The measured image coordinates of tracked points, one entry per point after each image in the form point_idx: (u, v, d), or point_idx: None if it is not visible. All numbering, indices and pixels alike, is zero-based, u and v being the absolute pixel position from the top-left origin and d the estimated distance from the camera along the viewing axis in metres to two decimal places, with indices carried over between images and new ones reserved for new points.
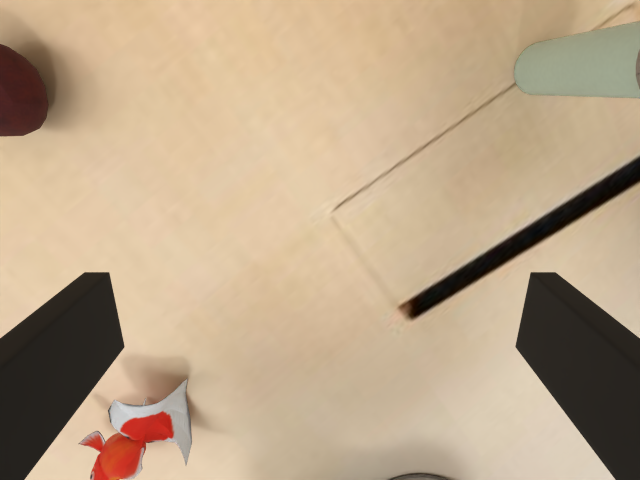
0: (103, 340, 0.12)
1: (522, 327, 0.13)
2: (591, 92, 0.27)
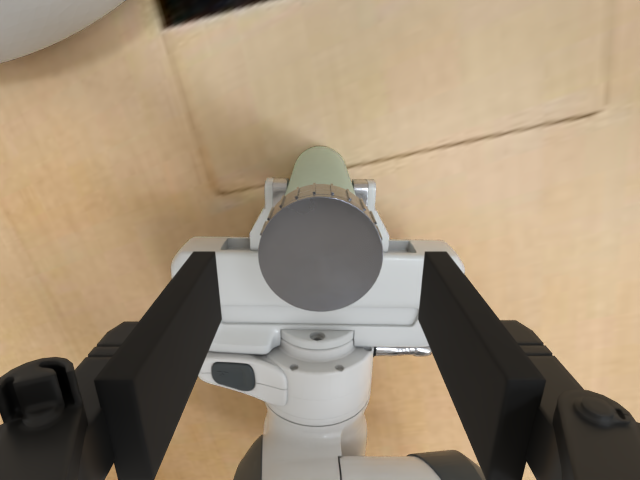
0: (212, 310, 0.13)
1: (420, 300, 0.14)
2: (350, 184, 0.24)
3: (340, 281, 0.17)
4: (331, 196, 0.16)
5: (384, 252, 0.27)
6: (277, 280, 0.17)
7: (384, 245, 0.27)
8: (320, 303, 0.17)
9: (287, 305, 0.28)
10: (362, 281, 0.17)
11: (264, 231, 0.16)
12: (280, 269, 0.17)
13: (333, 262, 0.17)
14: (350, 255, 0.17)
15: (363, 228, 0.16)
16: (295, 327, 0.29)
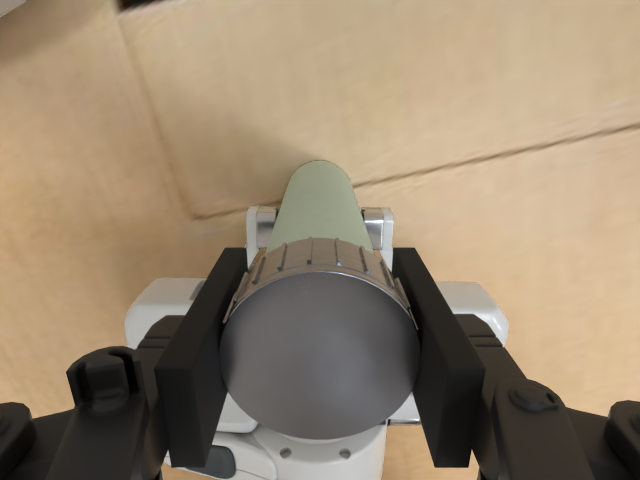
0: None
1: None
2: (361, 221, 0.17)
3: (351, 397, 0.11)
4: (337, 269, 0.10)
5: None
6: (250, 396, 0.11)
7: None
8: (319, 428, 0.11)
9: None
10: (386, 397, 0.11)
11: (227, 324, 0.10)
12: (255, 380, 0.10)
13: (340, 370, 0.10)
14: (368, 360, 0.10)
15: (390, 320, 0.10)
16: None
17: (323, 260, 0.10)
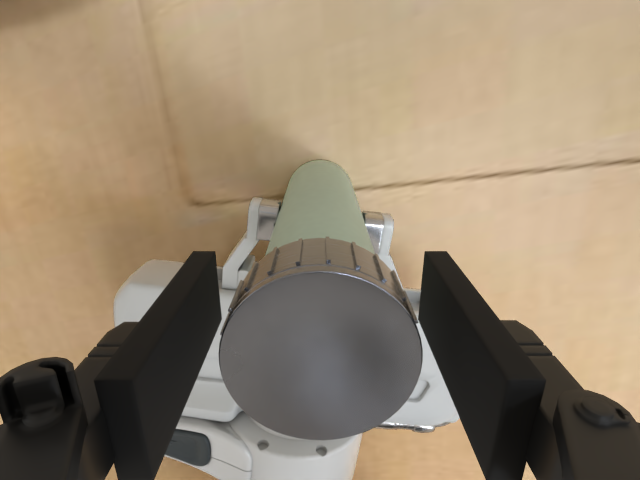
0: (212, 310, 0.13)
1: (421, 301, 0.14)
2: (364, 223, 0.17)
3: (373, 348, 0.10)
4: (227, 320, 0.10)
5: None
6: (336, 426, 0.11)
7: None
8: (399, 385, 0.10)
9: None
10: (386, 318, 0.10)
11: (254, 418, 0.11)
12: (320, 417, 0.11)
13: (335, 349, 0.10)
14: (332, 323, 0.10)
15: (292, 292, 0.10)
16: None
17: (227, 320, 0.11)
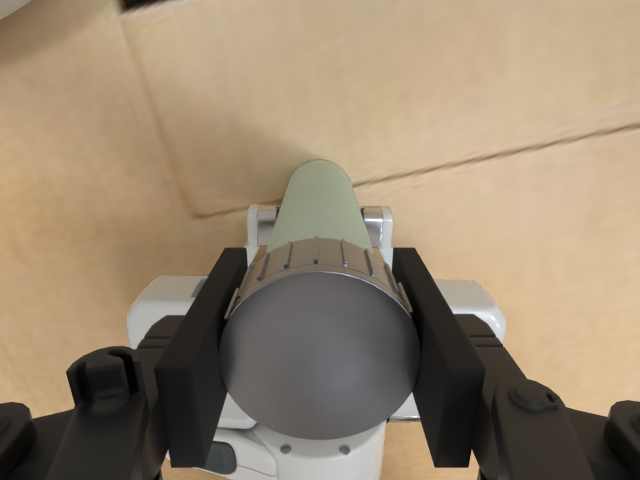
0: None
1: None
2: (360, 219, 0.17)
3: (370, 343, 0.10)
4: (223, 328, 0.10)
5: None
6: (343, 424, 0.11)
7: None
8: (401, 378, 0.10)
9: None
10: (379, 312, 0.10)
11: (261, 423, 0.11)
12: (326, 417, 0.11)
13: (332, 348, 0.10)
14: (326, 322, 0.10)
15: (282, 296, 0.10)
16: None
17: None
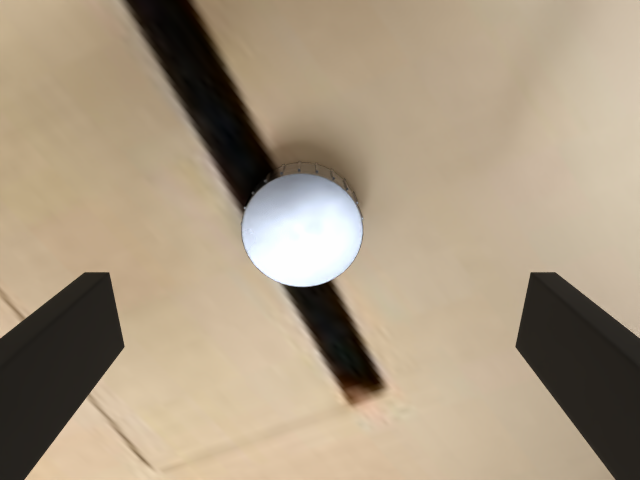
0: (103, 340, 0.12)
1: (522, 327, 0.13)
2: None
3: (331, 219, 0.17)
4: (244, 211, 0.17)
5: None
6: (317, 275, 0.18)
7: None
8: (351, 242, 0.17)
9: None
10: (336, 199, 0.17)
11: (267, 275, 0.18)
12: (307, 270, 0.18)
13: (309, 222, 0.17)
14: (305, 205, 0.17)
15: (279, 189, 0.16)
16: None
17: None
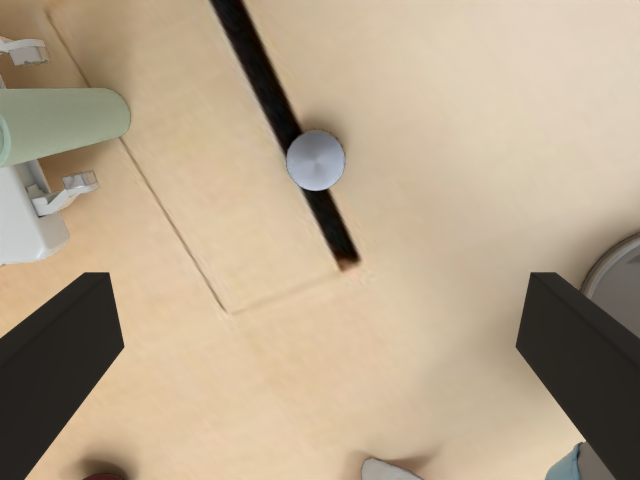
0: (103, 340, 0.12)
1: (522, 327, 0.13)
2: (62, 146, 0.27)
3: (329, 155, 0.35)
4: (288, 151, 0.35)
5: (36, 213, 0.31)
6: (323, 184, 0.36)
7: (42, 211, 0.31)
8: (339, 167, 0.36)
9: None
10: (332, 144, 0.35)
11: (298, 184, 0.36)
12: (317, 181, 0.36)
13: (319, 156, 0.35)
14: (317, 148, 0.35)
15: (305, 139, 0.35)
16: None
17: None
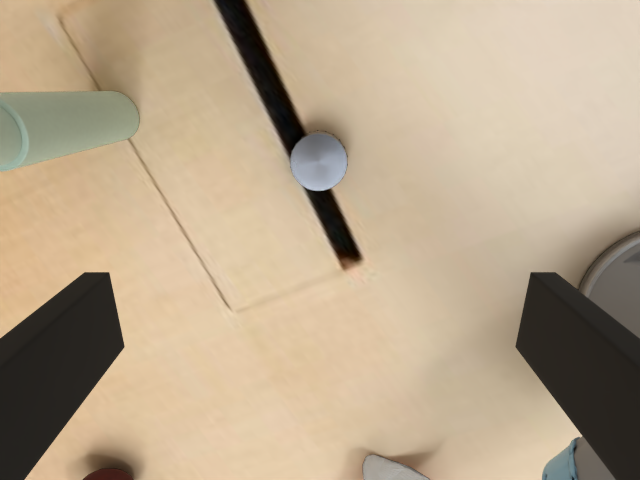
0: (103, 340, 0.12)
1: (522, 327, 0.13)
2: (75, 147, 0.29)
3: (332, 156, 0.36)
4: None
5: None
6: (325, 184, 0.37)
7: None
8: (341, 167, 0.37)
9: None
10: (334, 146, 0.36)
11: (301, 184, 0.37)
12: (320, 182, 0.37)
13: (322, 157, 0.36)
14: (320, 149, 0.36)
15: (308, 141, 0.36)
16: None
17: None
